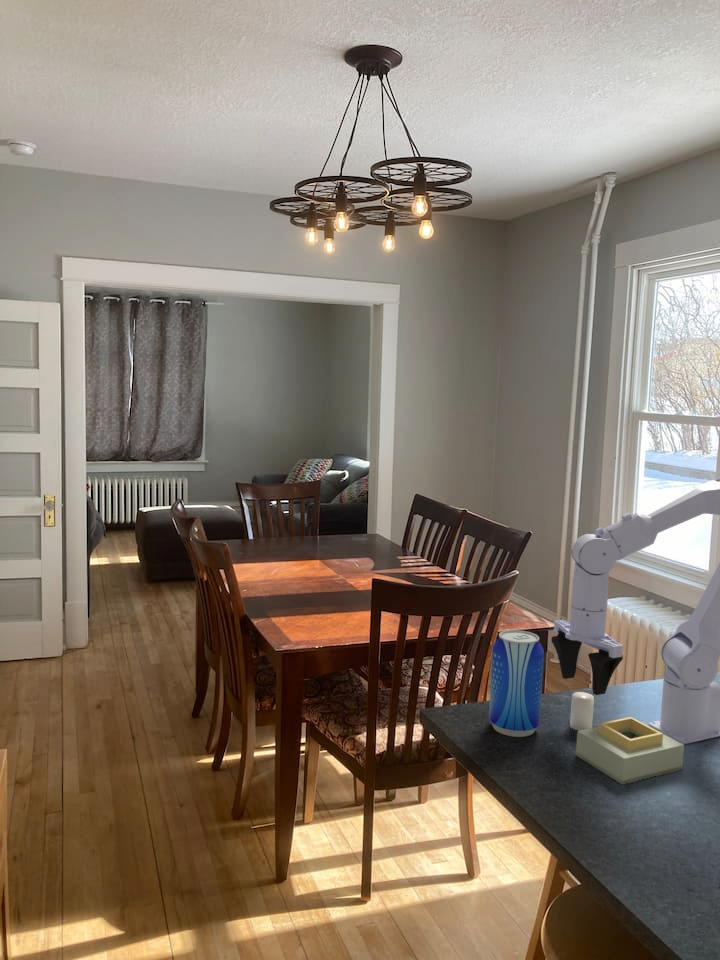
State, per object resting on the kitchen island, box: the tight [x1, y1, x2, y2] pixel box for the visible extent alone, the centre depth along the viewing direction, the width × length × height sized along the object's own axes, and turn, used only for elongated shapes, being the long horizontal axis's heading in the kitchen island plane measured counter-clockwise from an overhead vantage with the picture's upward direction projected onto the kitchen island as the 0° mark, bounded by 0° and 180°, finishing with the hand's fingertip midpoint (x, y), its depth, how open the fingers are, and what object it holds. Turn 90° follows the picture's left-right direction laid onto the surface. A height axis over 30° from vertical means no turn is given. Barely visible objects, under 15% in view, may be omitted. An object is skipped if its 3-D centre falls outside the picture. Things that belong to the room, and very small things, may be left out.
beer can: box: [488, 629, 545, 738], centre depth 134 cm, size 8×8×16 cm
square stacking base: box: [575, 716, 685, 786], centre depth 123 cm, size 12×10×6 cm
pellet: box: [569, 691, 595, 731], centre depth 136 cm, size 4×4×6 cm
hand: (583, 685), depth 135 cm, fingers open, 7 cm apart
